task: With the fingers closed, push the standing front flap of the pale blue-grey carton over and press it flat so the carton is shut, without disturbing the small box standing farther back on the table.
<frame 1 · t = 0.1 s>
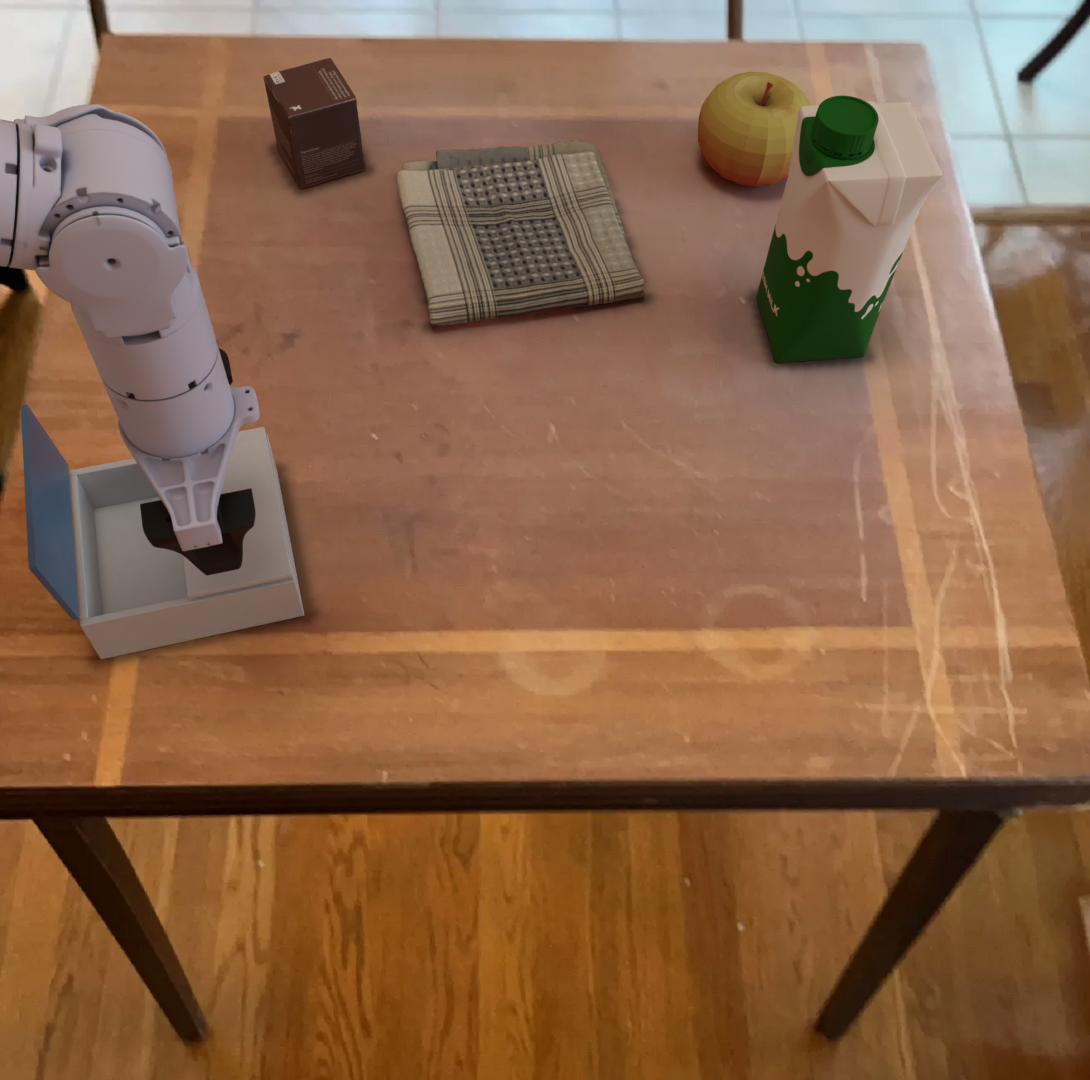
hand: (214, 512, 68), 11 cm above the table, tool pointing down, fingers open, 7 cm apart
milk carton: (809, 329, 93), on the table
dish towel: (516, 239, 97), on the table
box: (321, 161, 101), on the table
apple: (747, 167, 103), on the table
carton: (193, 560, 79), on the table
flap: (49, 511, 71), point 8 cm above the table, hinge at 95.0°
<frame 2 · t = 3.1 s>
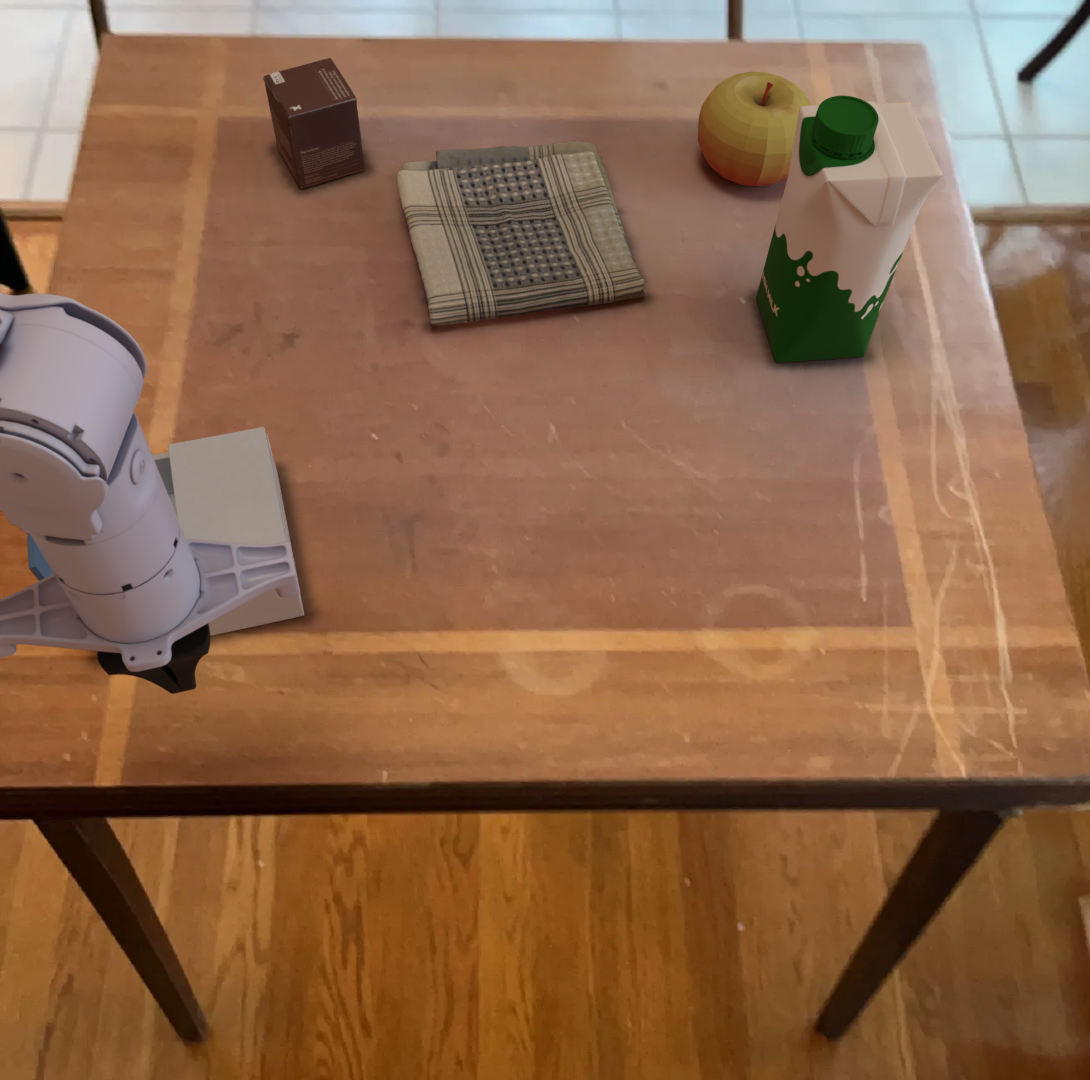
hand: (181, 675, 63), 10 cm above the table, tool pointing down, fingers closed
nothing on the table moved.
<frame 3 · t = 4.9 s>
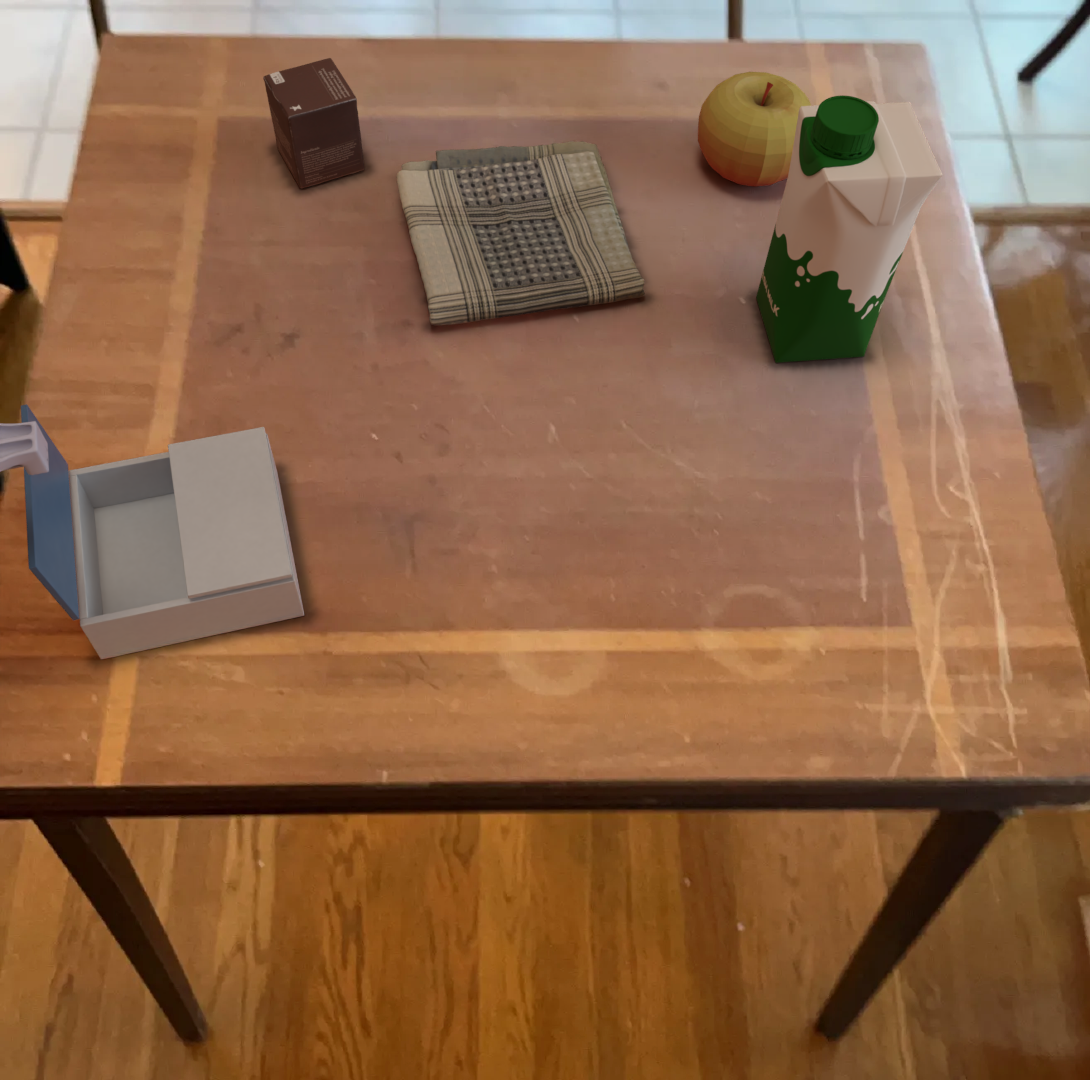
nothing on the table moved.
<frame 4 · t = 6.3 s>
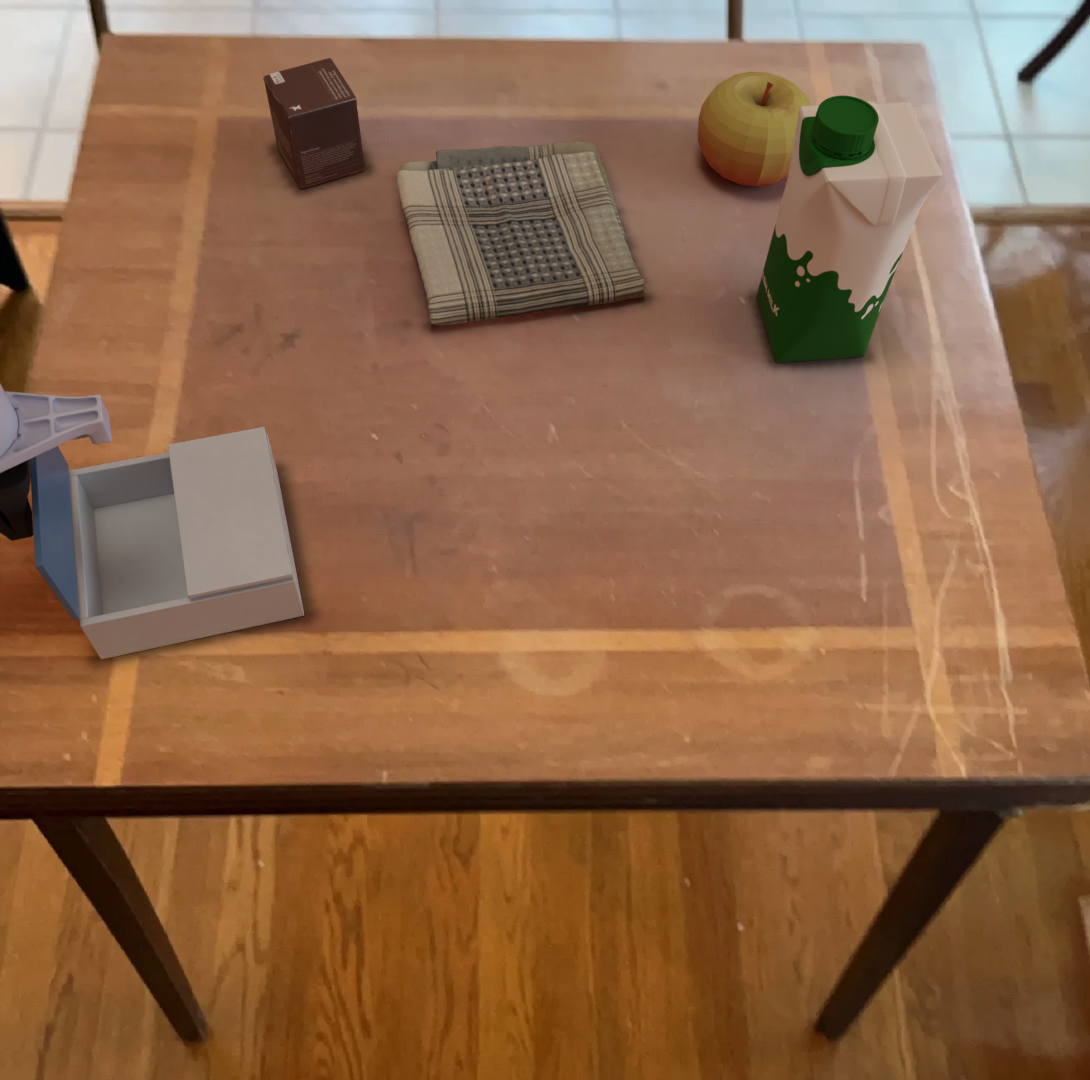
hand: (21, 525, 71), 8 cm above the table, tool pointing down, fingers closed
flap: (53, 511, 71), point 8 cm above the table, hinge at 91.7°, touching gripper
everything else where it was.
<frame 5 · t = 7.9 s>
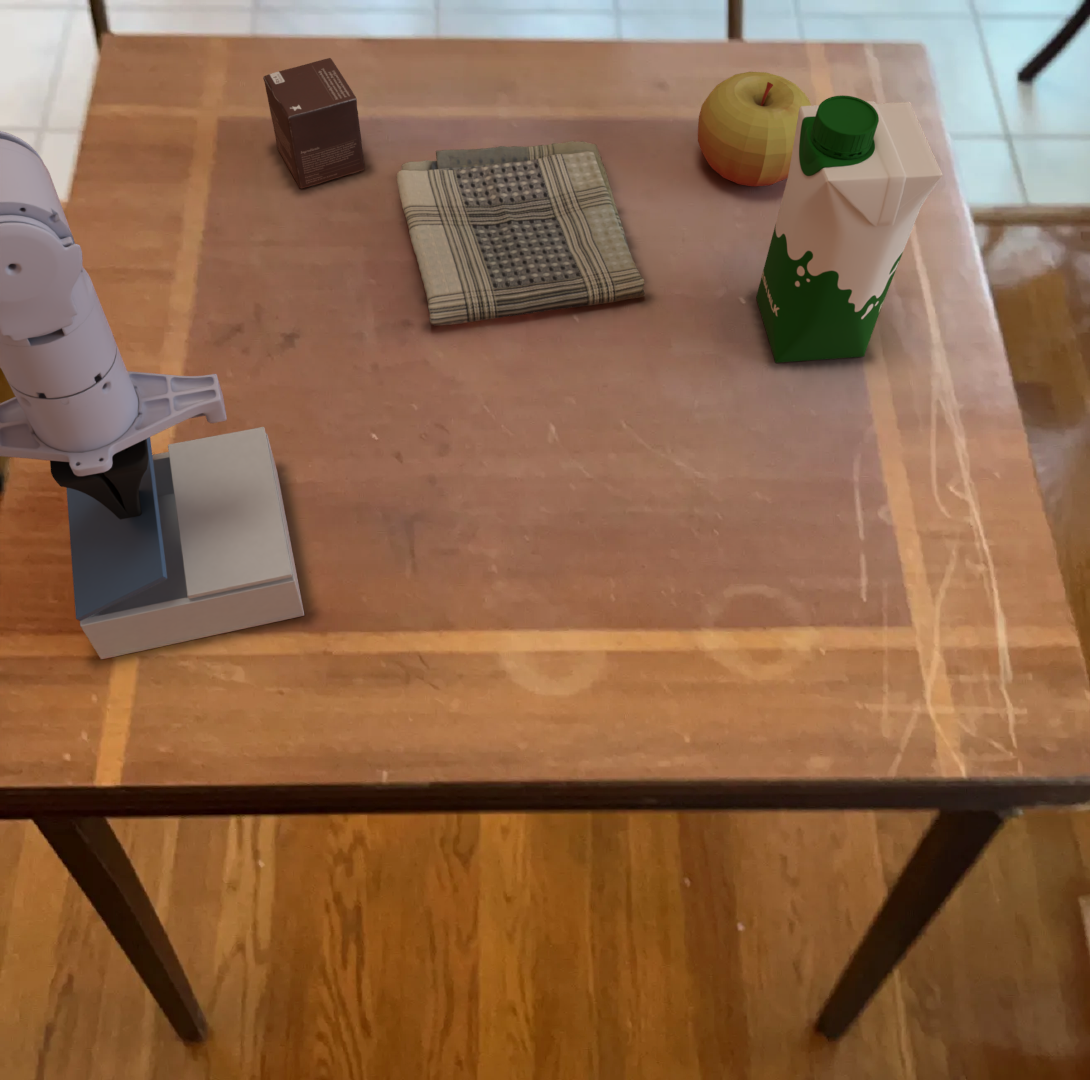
hand: (129, 504, 72), 8 cm above the table, tool pointing down, fingers closed
flap: (113, 518, 73), point 6 cm above the table, hinge at 24.6°
everything else where it was.
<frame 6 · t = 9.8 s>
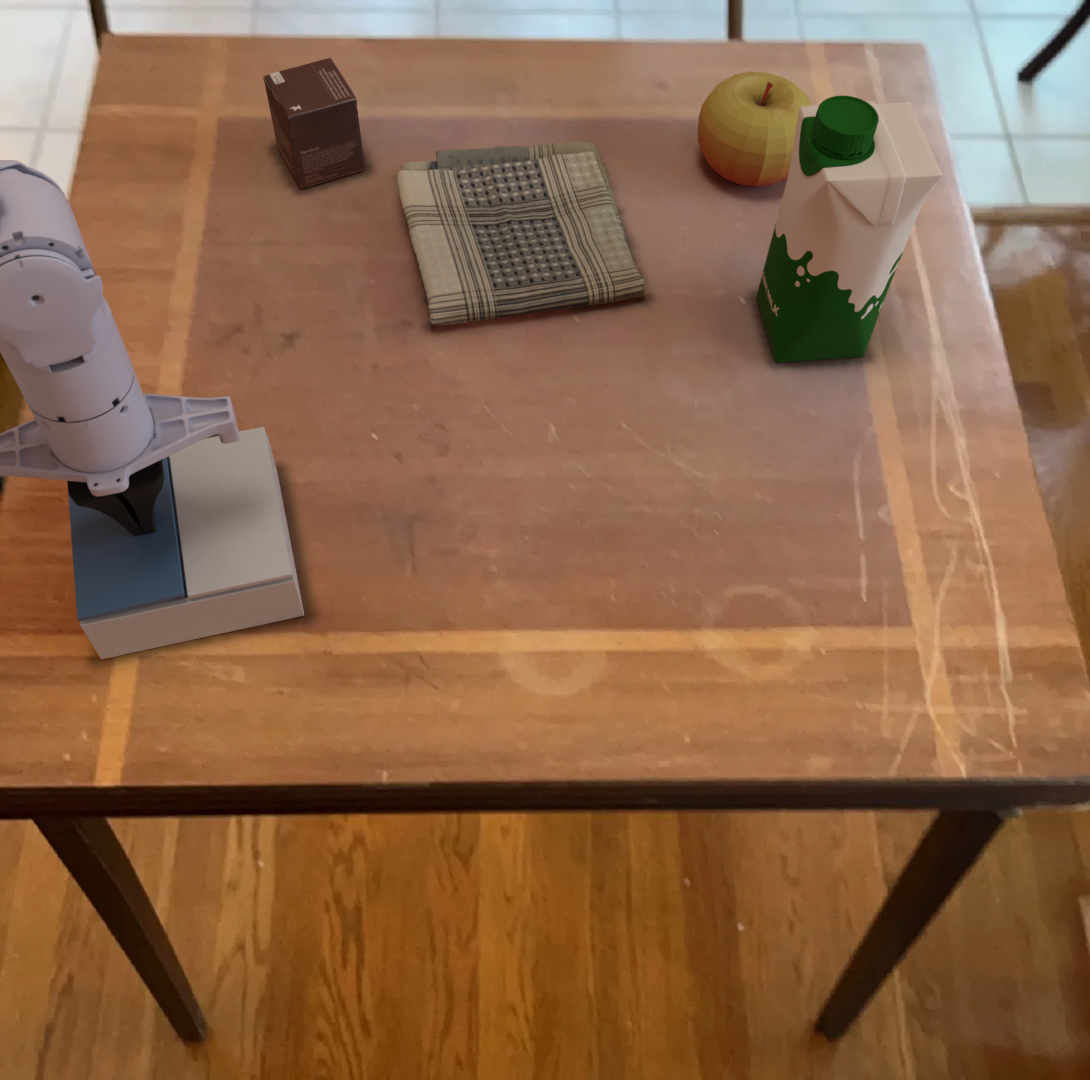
hand: (143, 521, 74), 6 cm above the table, tool pointing down, fingers closed, pressing on flap
flap: (123, 528, 74), point 5 cm above the table, hinge at 2.6°, touching gripper
everything else where it was.
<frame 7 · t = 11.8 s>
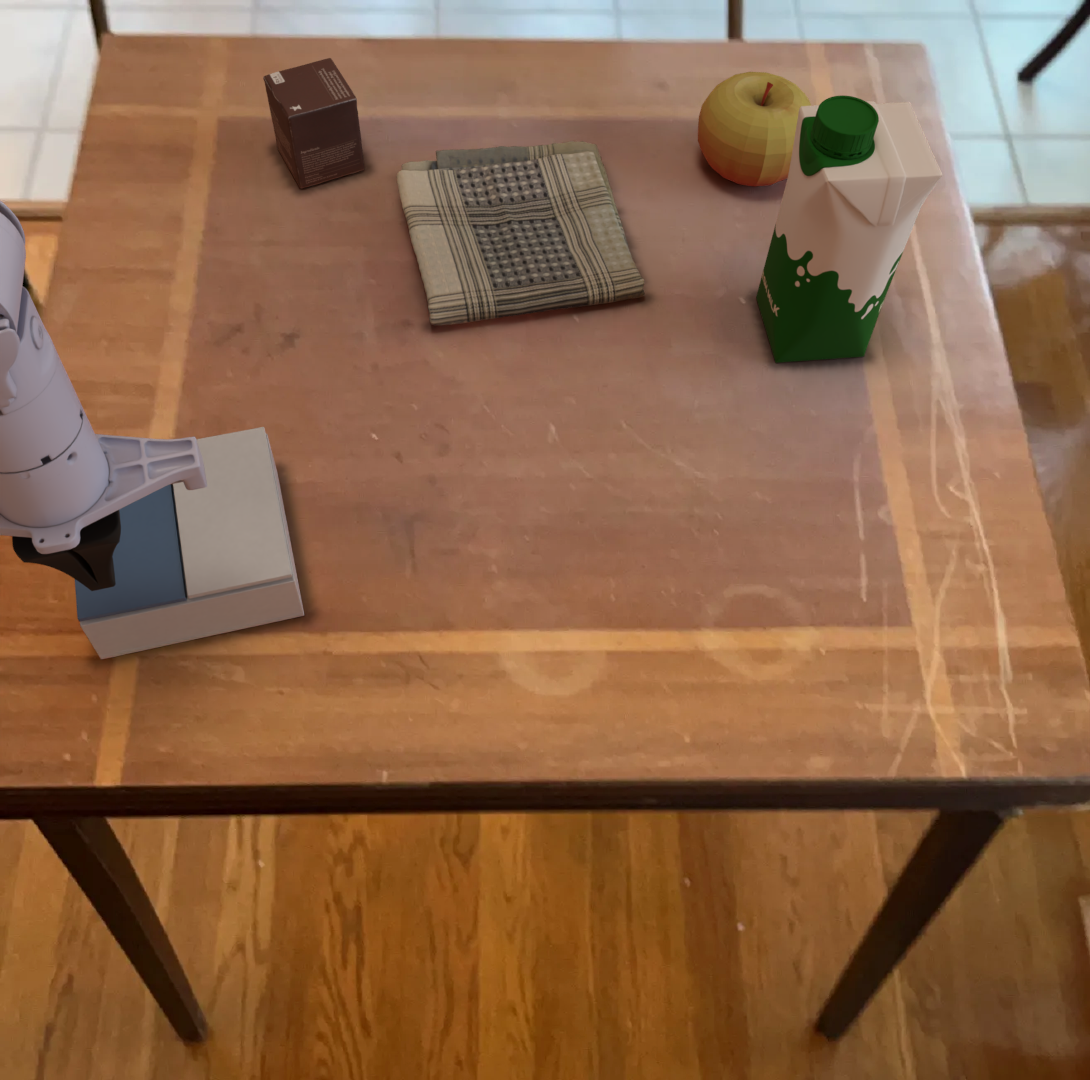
hand: (101, 574, 66), 10 cm above the table, tool pointing down, fingers closed
flap: (124, 529, 74), point 5 cm above the table, hinge at -1.2°
everything else where it was.
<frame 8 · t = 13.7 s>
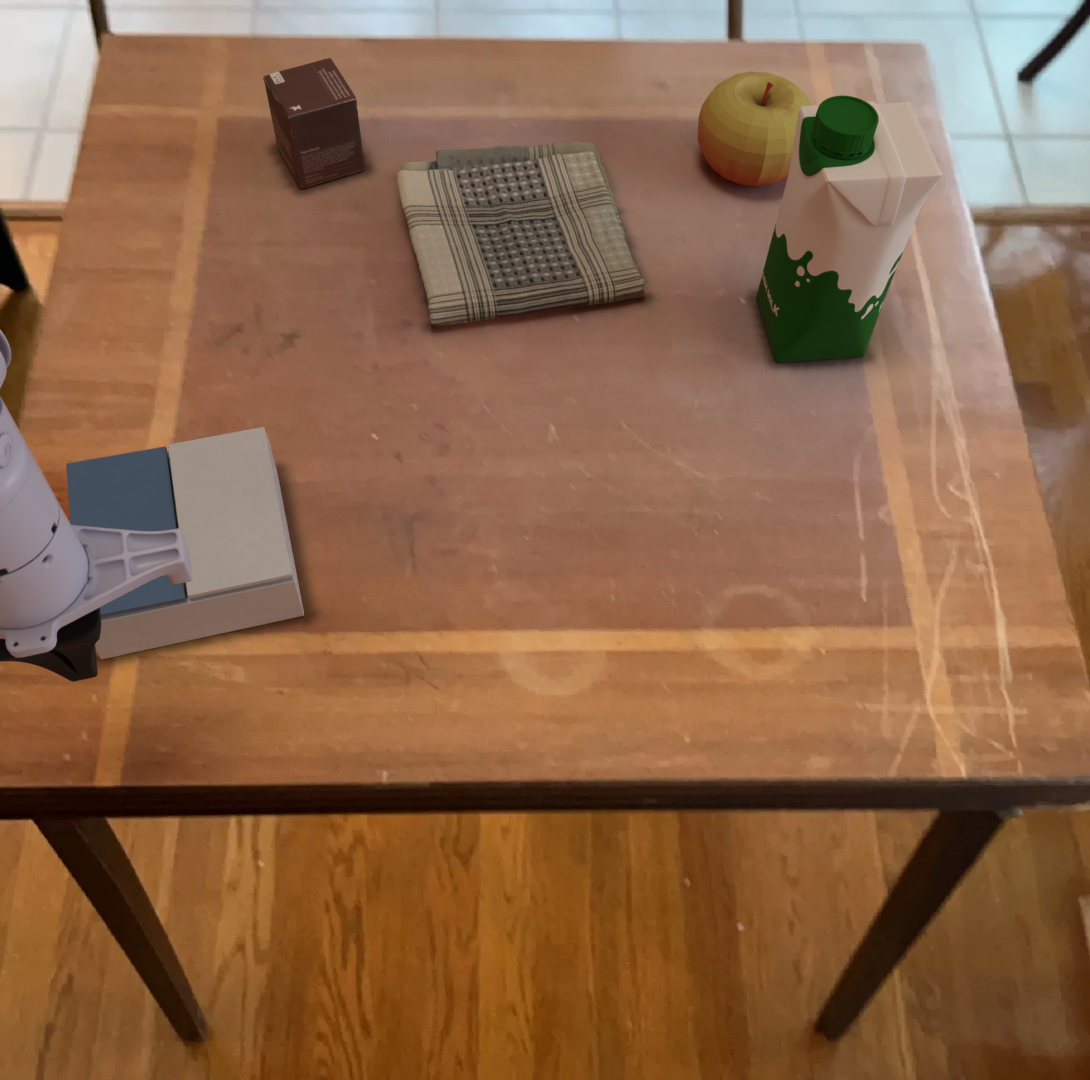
hand: (83, 663, 63), 10 cm above the table, tool pointing down, fingers closed
nothing on the table moved.
at the end: flap at -1° (first picture: +95°); box moved 0.2 cm from its start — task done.
